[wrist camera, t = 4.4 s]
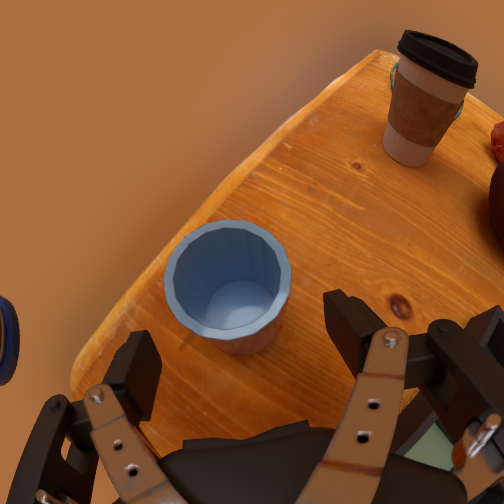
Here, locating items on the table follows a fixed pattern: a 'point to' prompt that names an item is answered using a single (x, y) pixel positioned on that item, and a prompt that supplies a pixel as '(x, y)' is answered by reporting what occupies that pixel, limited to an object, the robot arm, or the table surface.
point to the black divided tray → (429, 425)
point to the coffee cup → (425, 95)
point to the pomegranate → (498, 141)
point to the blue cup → (230, 285)
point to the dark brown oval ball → (497, 201)
